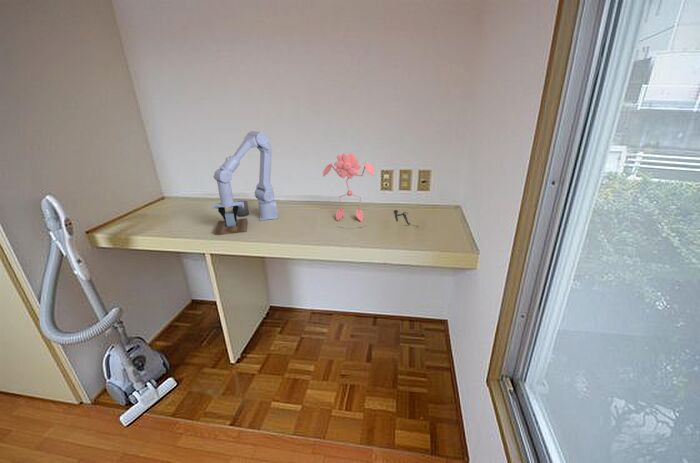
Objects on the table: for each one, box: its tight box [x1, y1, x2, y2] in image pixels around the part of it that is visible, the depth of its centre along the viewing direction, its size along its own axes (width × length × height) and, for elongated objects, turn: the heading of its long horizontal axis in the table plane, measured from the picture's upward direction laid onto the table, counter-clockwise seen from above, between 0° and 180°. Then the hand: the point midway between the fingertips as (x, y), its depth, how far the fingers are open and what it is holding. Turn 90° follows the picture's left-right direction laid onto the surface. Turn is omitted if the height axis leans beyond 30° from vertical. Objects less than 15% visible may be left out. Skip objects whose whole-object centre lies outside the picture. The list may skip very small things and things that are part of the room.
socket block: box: [214, 217, 249, 236], centre depth 158 cm, size 14×12×2 cm
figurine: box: [322, 152, 376, 229], centre depth 155 cm, size 15×26×35 cm, turn 78°
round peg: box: [236, 200, 250, 218], centre depth 175 cm, size 6×6×7 cm
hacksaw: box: [393, 209, 419, 229], centre depth 165 cm, size 24×10×2 cm, turn 178°
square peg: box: [225, 210, 236, 227], centre depth 157 cm, size 4×4×7 cm
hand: (231, 221), depth 157 cm, fingers closed on square peg, 4 cm apart
